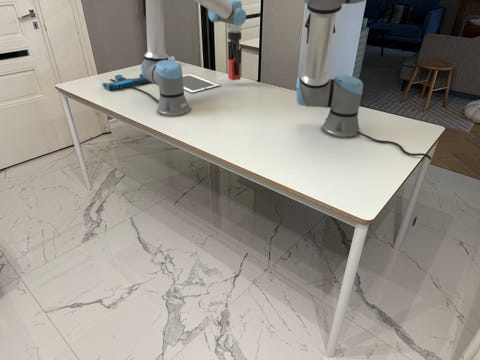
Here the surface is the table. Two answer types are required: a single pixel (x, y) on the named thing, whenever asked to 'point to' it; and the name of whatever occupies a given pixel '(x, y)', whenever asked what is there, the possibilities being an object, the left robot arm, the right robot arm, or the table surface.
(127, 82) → the submachine gun
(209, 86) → the tablet
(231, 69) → the brick
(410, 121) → the table surface
